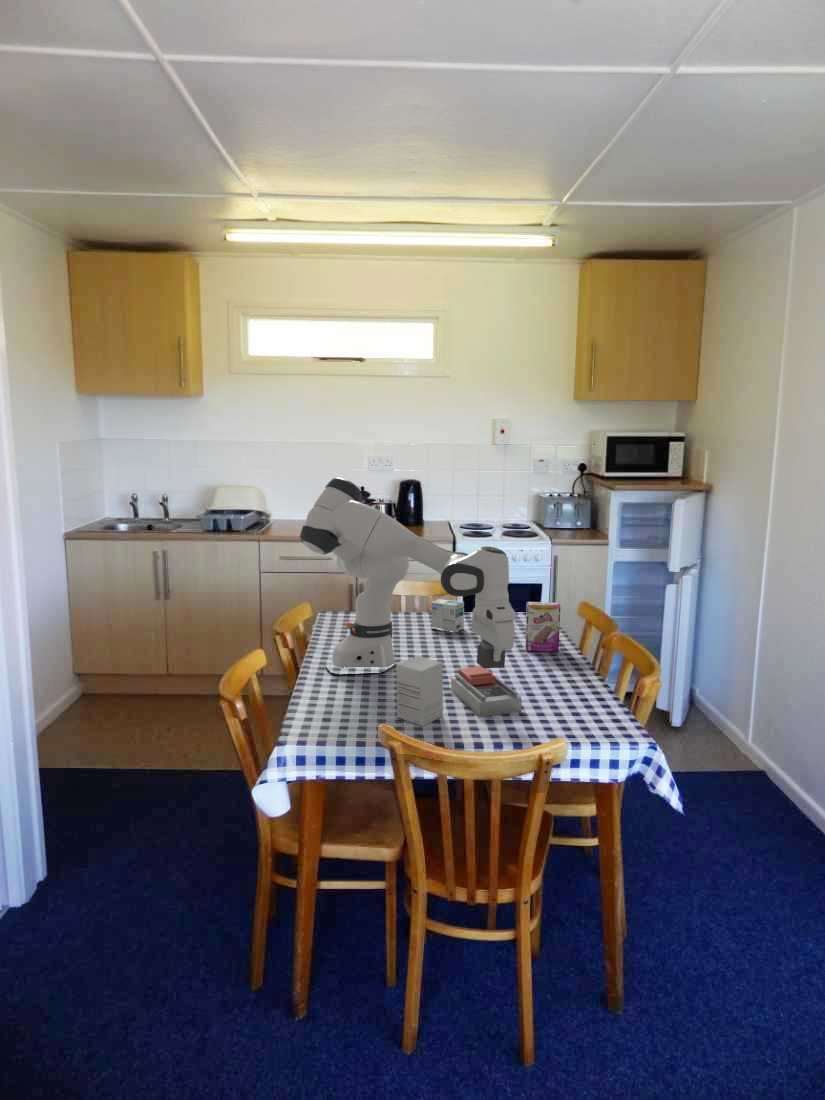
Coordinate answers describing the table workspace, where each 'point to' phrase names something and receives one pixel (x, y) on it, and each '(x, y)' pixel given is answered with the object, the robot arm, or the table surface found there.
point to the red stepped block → (477, 675)
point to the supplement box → (420, 690)
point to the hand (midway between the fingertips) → (491, 657)
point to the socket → (486, 696)
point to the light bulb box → (447, 614)
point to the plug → (489, 656)
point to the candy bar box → (542, 627)
